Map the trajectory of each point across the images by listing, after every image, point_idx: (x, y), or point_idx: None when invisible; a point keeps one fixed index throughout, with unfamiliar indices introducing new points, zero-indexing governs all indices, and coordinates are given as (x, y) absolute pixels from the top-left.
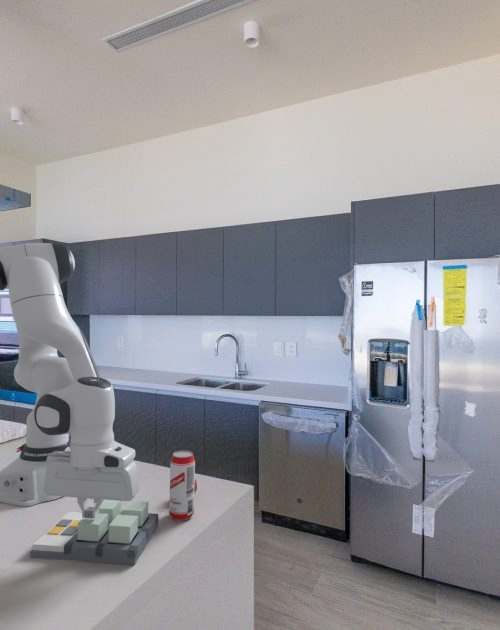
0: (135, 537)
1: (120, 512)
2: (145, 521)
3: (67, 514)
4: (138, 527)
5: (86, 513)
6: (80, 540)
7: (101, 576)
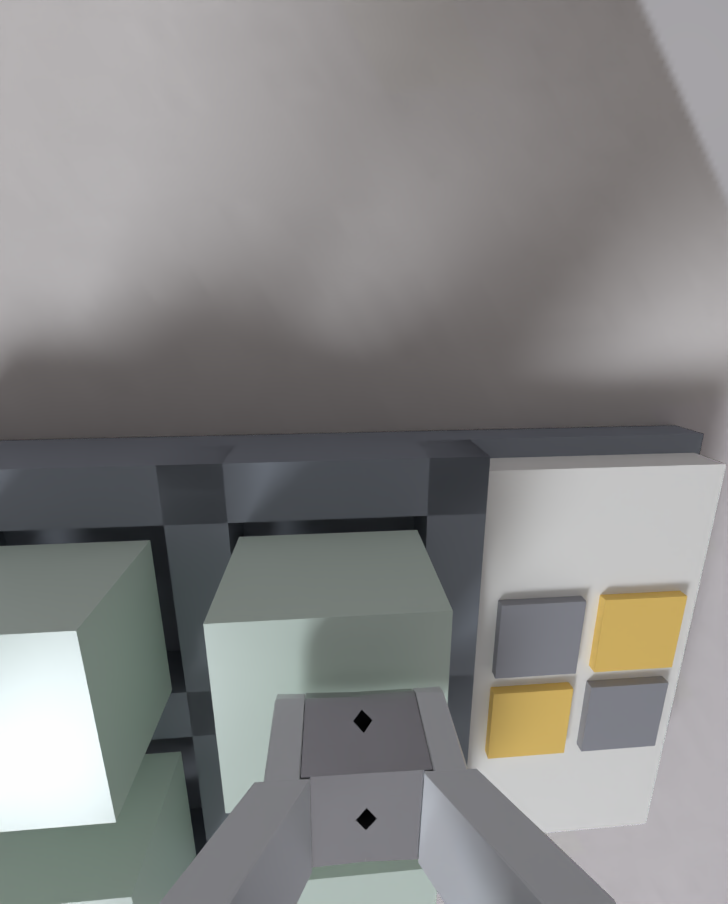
0: None
1: None
2: None
3: (642, 799)
4: None
5: (394, 733)
6: None
7: (113, 297)
